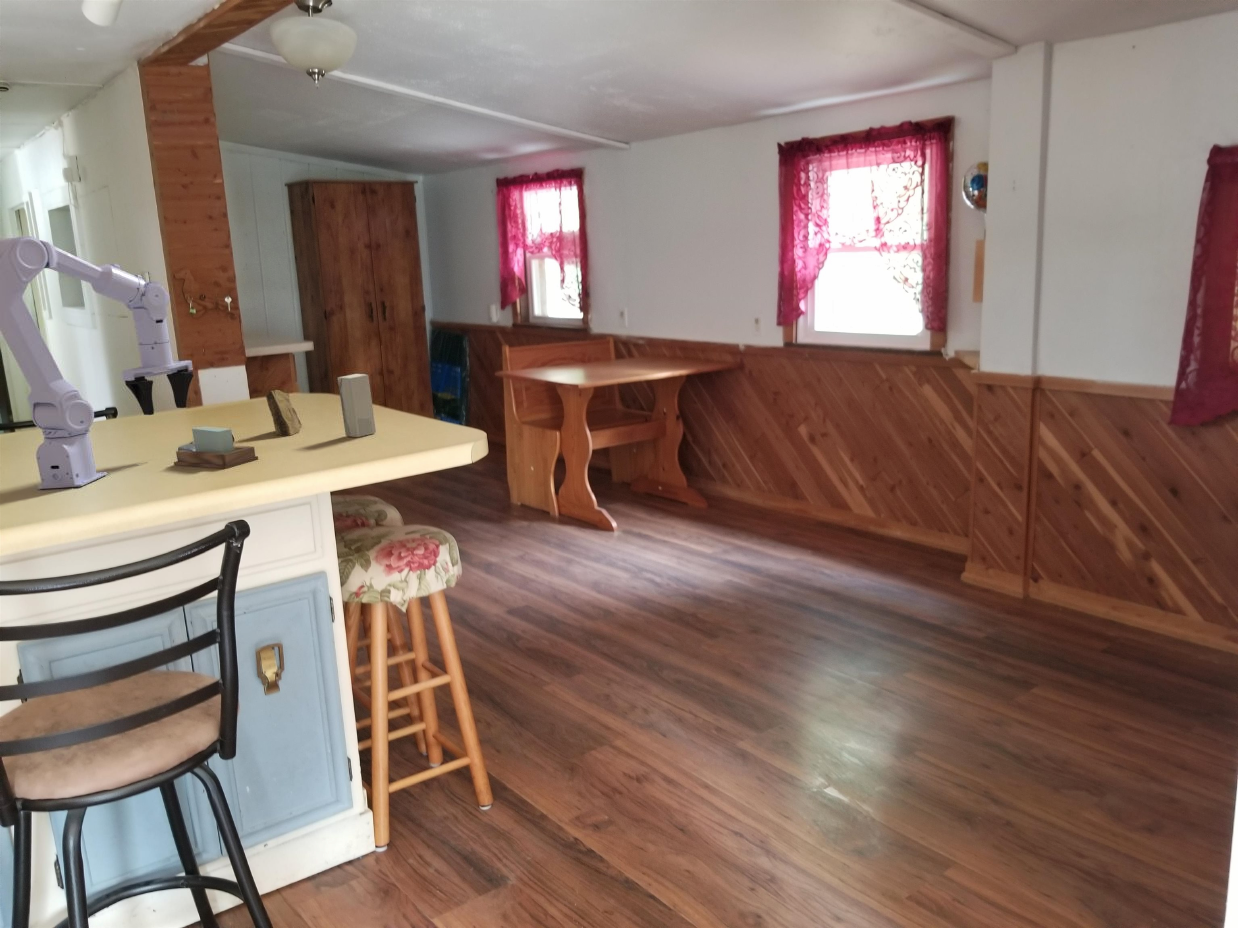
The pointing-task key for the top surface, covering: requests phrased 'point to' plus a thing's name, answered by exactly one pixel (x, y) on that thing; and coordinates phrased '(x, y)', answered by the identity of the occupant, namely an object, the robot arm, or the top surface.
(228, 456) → the floor track
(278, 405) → the rock
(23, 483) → the top surface
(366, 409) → the box
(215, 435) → the pale teal block
